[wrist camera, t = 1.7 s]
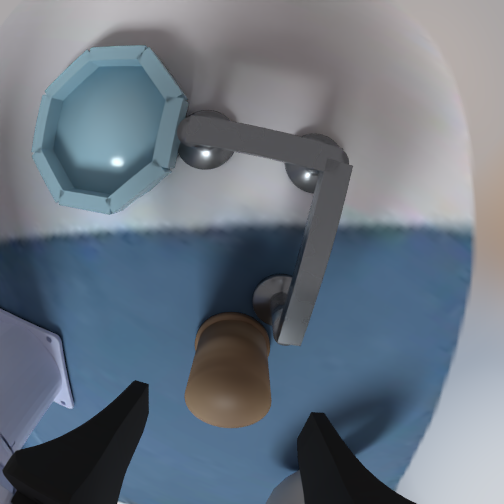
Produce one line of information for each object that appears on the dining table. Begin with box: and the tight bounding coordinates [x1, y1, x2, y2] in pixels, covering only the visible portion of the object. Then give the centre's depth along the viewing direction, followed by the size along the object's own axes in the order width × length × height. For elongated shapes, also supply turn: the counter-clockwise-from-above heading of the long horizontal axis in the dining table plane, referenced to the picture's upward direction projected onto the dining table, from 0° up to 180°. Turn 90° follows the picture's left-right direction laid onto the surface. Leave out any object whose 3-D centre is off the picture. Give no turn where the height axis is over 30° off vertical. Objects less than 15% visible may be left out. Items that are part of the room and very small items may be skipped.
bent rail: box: [177, 110, 353, 346], centre depth 13 cm, size 8×10×4 cm
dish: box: [31, 45, 189, 215], centre depth 13 cm, size 9×9×2 cm
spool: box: [185, 312, 271, 428], centre depth 15 cm, size 4×4×5 cm
